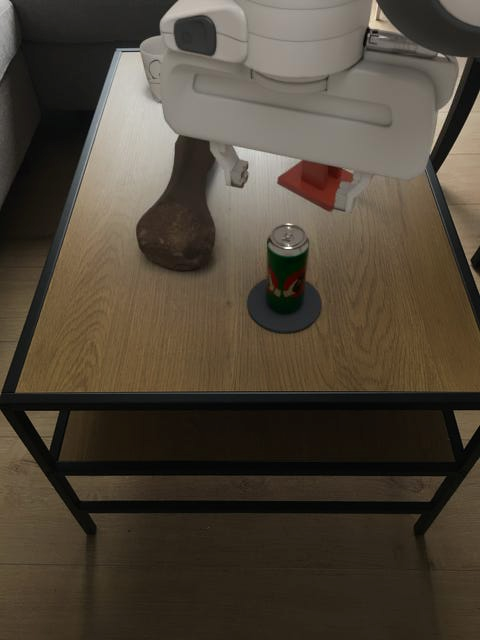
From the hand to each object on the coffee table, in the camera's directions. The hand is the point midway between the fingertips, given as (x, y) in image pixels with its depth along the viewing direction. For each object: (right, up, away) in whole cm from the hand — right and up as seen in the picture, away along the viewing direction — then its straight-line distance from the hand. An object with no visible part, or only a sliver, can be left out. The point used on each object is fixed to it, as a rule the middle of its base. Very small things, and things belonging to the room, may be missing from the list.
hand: (289, 194), depth 45 cm
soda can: (+2, -8, +28) cm, 29 cm away
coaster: (+2, -8, +28) cm, 29 cm away
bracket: (+9, +12, +44) cm, 47 cm away
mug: (-18, +36, +64) cm, 76 cm away
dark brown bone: (-13, +6, +40) cm, 43 cm away
